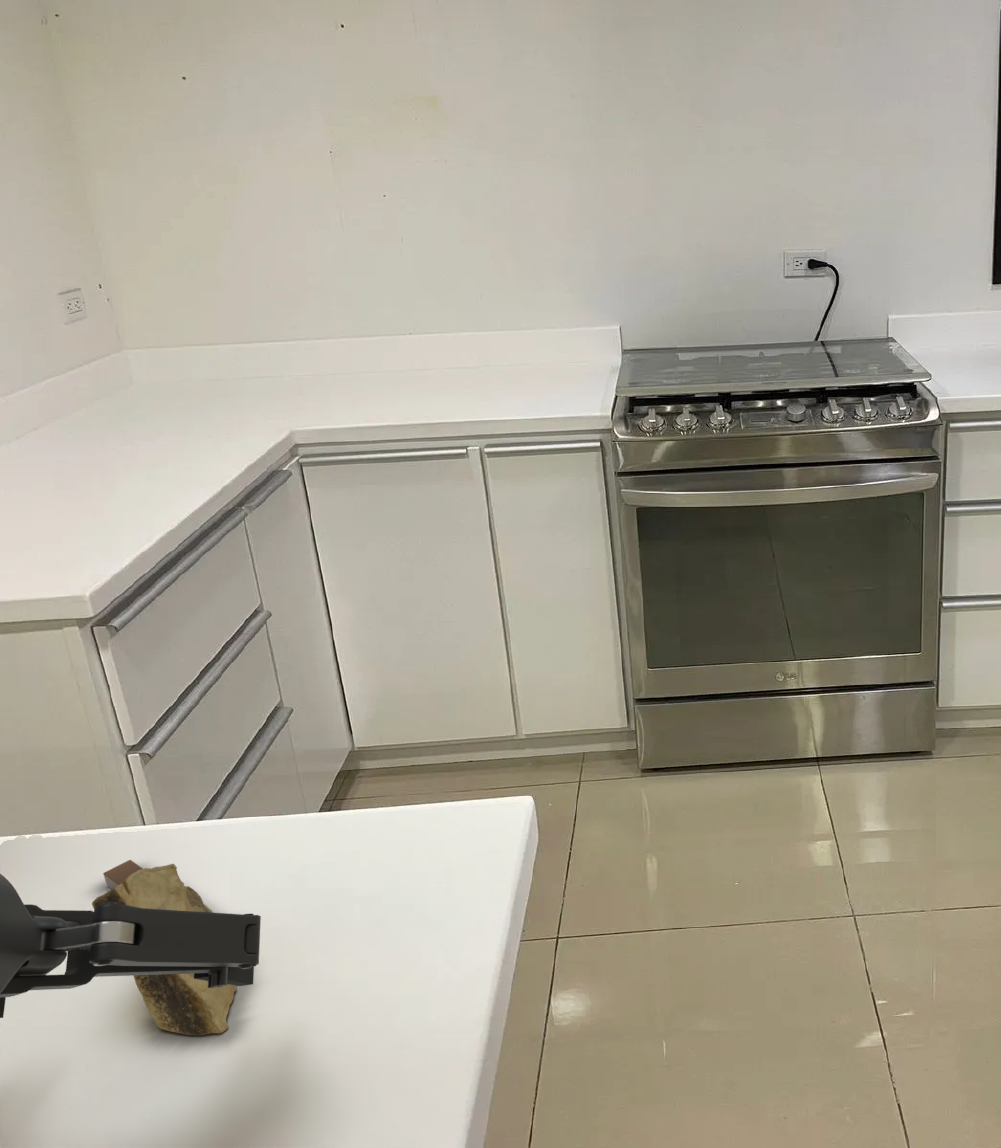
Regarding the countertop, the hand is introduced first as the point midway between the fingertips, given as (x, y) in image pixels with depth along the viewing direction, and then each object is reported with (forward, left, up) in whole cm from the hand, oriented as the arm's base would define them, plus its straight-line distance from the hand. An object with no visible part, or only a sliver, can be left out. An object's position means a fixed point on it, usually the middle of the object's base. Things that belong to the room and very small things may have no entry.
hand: (125, 976), depth 64 cm
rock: (-4, +5, -6) cm, 9 cm away
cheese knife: (-15, +7, -6) cm, 18 cm away
